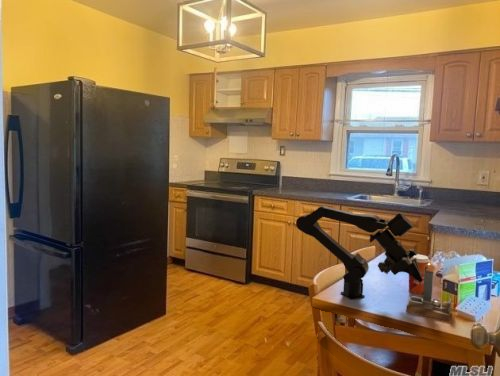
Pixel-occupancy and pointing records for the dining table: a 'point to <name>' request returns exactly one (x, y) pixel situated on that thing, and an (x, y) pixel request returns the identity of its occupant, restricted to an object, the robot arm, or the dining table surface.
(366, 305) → the dining table surface
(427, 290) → the press handle
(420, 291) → the paper cup
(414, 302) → the press bench
